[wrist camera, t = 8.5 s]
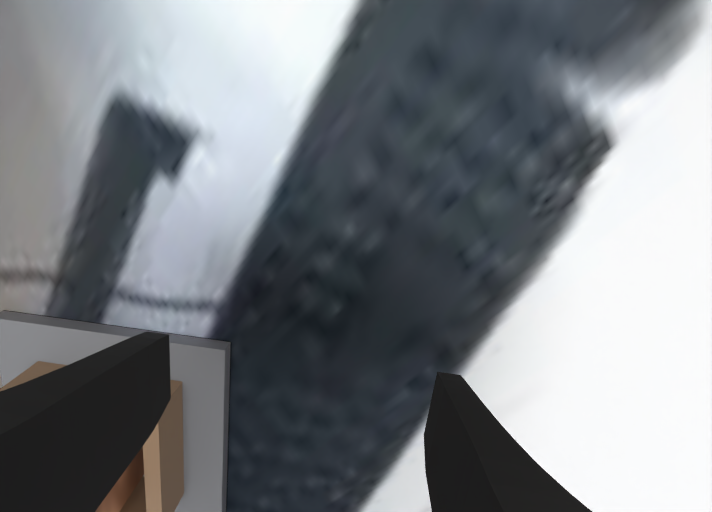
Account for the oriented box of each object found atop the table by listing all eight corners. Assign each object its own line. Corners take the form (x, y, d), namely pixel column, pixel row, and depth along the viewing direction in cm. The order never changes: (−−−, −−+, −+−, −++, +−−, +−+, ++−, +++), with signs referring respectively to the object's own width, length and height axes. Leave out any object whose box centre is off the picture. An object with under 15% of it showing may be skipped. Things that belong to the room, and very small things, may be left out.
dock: (226, 514, 26) (204, 569, 23) (33, 486, 26) (-15, 536, 23) (230, 342, 22) (205, 380, 19) (3, 310, 22) (-59, 342, 19)
